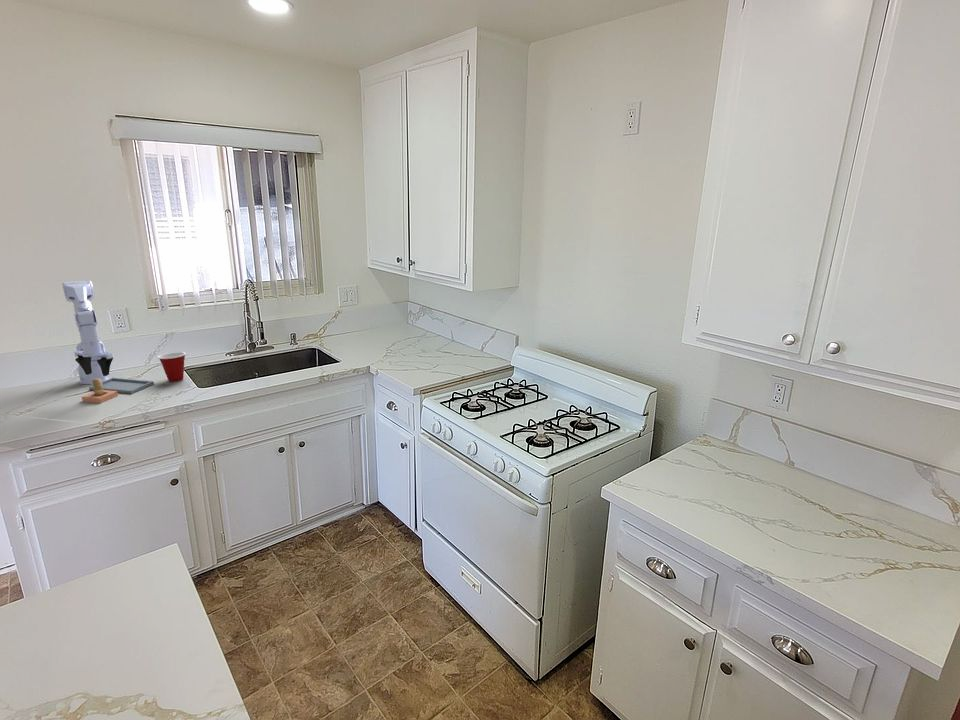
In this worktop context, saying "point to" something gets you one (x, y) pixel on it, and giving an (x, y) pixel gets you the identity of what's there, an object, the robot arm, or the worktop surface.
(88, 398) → the orange square hole block
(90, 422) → the worktop surface
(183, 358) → the plastic cup
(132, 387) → the tray
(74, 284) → the robot arm
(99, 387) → the dowel pin
